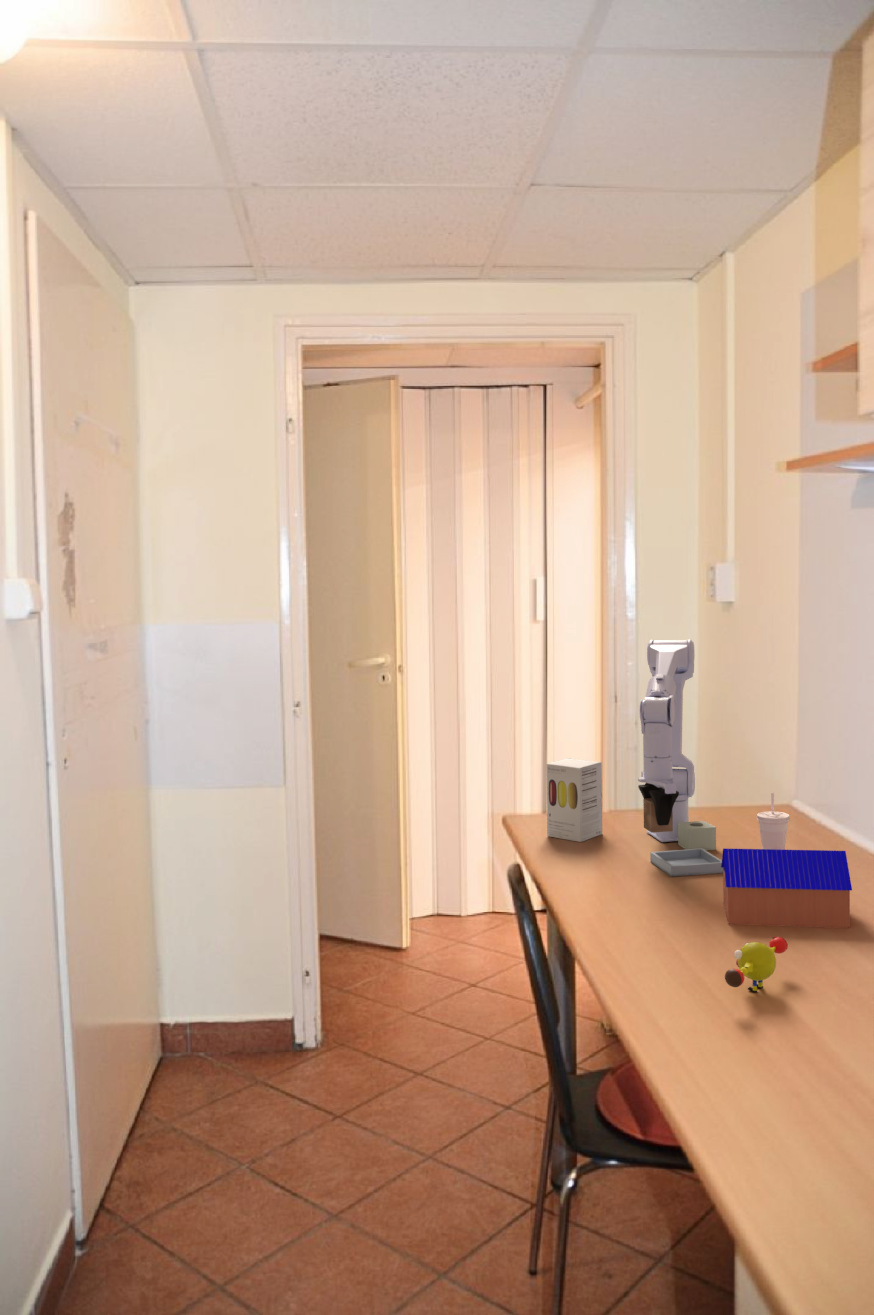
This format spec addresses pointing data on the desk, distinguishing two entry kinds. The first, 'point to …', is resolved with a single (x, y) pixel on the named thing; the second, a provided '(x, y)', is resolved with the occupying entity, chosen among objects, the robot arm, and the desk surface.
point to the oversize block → (697, 835)
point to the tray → (686, 862)
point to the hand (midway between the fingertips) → (658, 822)
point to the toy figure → (755, 963)
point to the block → (654, 818)
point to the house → (786, 887)
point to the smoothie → (773, 828)
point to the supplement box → (574, 799)
